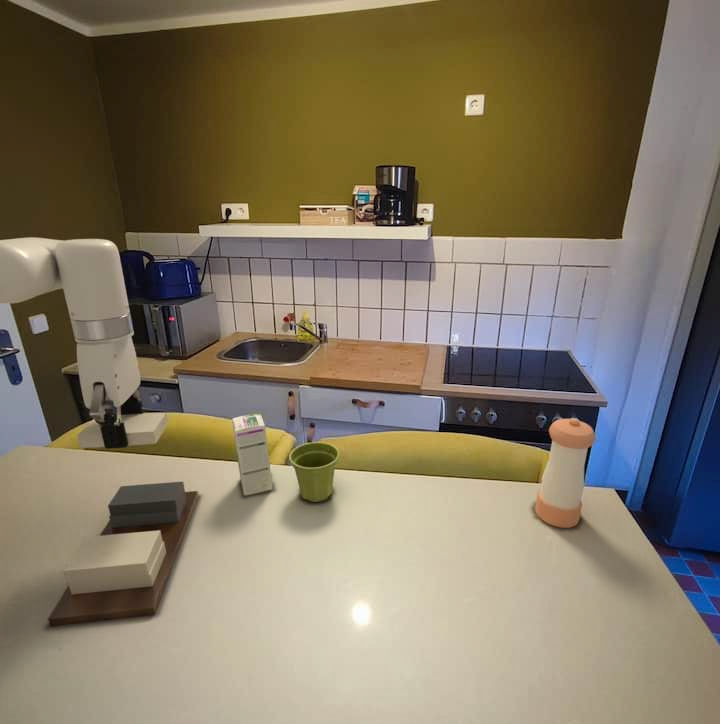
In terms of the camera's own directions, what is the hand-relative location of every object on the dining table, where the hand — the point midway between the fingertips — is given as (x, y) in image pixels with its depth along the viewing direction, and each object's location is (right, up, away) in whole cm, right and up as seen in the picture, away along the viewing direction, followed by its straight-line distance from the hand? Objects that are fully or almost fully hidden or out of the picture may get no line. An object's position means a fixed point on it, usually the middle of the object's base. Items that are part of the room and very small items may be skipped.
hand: (126, 434), depth 69 cm
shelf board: (+1, -19, +1) cm, 19 cm away
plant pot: (+29, -14, +15) cm, 36 cm away
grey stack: (0, -16, +8) cm, 17 cm away
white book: (0, 0, 0) cm, 0 cm away
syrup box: (+17, -13, +17) cm, 27 cm away
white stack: (+2, -20, -5) cm, 21 cm away
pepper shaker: (+73, -16, +9) cm, 75 cm away
